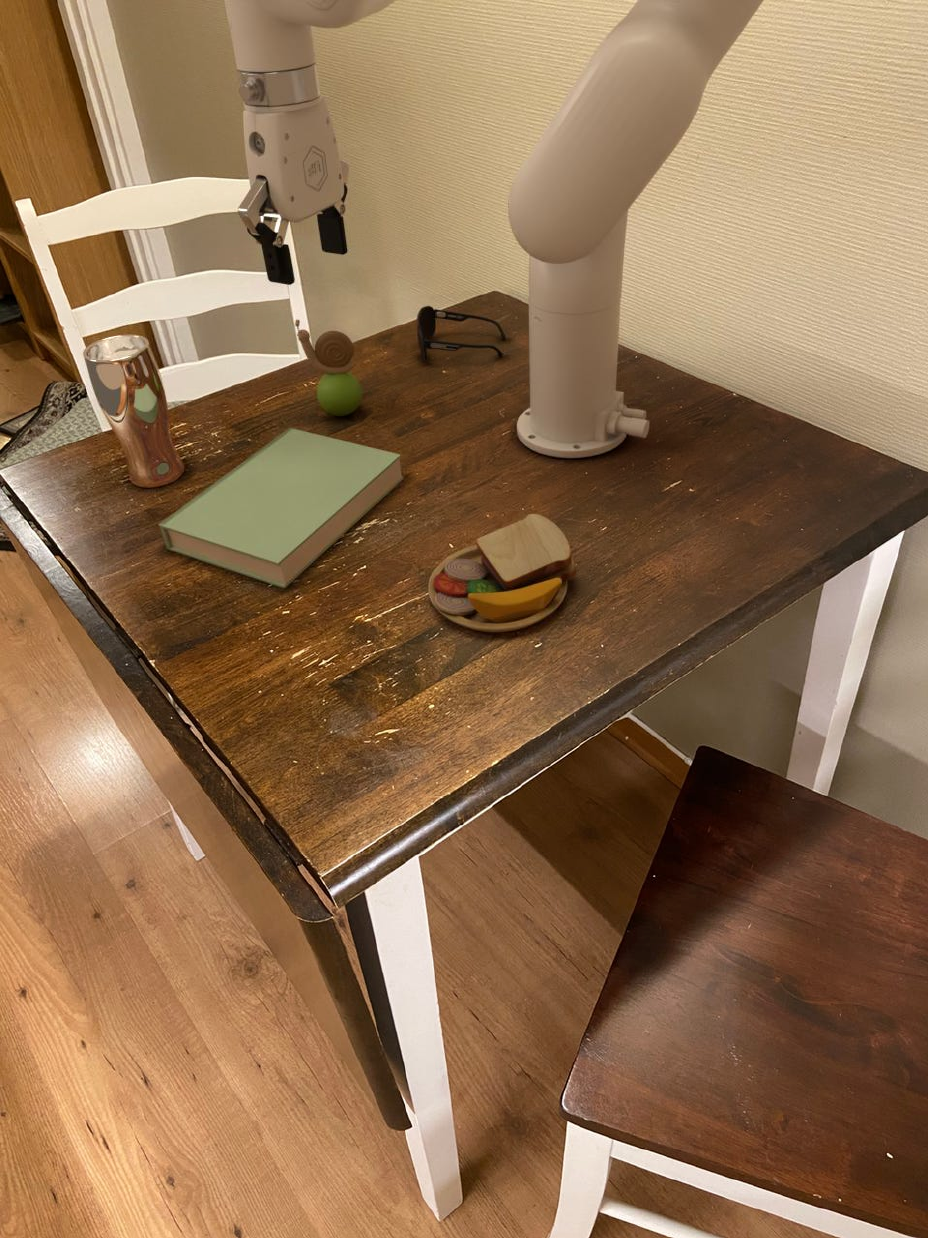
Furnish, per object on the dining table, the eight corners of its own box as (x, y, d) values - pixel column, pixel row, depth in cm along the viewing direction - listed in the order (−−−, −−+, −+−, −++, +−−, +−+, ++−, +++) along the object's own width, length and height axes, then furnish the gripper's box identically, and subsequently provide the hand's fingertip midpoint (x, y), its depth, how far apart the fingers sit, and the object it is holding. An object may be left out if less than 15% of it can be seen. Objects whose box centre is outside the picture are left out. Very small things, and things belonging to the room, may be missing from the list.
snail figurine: (313, 405, 110) (295, 311, 102) (364, 400, 110) (350, 306, 103) (311, 426, 106) (293, 330, 98) (364, 421, 106) (350, 324, 98)
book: (403, 478, 96) (400, 454, 94) (284, 588, 82) (278, 563, 80) (294, 450, 102) (289, 427, 100) (166, 549, 88) (158, 524, 86)
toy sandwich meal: (415, 567, 84) (410, 526, 80) (551, 539, 86) (551, 498, 83) (447, 652, 74) (443, 609, 71) (598, 619, 76) (600, 575, 73)
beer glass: (172, 492, 97) (130, 362, 87) (115, 488, 98) (67, 360, 88) (198, 459, 102) (162, 333, 92) (144, 456, 103) (102, 332, 93)
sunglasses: (421, 333, 125) (422, 298, 122) (505, 342, 125) (508, 307, 121) (410, 365, 117) (412, 329, 114) (500, 375, 117) (504, 339, 113)
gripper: (253, 109, 78) (288, 300, 89) (362, 72, 89) (380, 246, 101) (190, 104, 81) (231, 290, 92) (302, 69, 92) (327, 238, 104)
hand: (309, 266), depth 97 cm, fingers open, 9 cm apart
